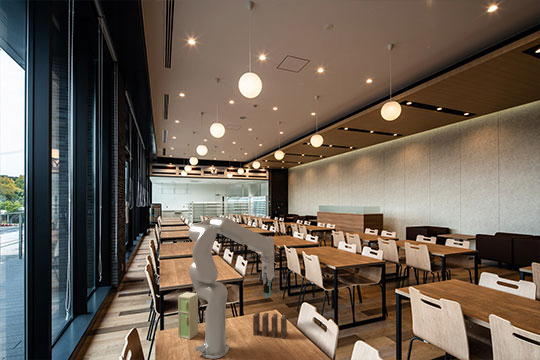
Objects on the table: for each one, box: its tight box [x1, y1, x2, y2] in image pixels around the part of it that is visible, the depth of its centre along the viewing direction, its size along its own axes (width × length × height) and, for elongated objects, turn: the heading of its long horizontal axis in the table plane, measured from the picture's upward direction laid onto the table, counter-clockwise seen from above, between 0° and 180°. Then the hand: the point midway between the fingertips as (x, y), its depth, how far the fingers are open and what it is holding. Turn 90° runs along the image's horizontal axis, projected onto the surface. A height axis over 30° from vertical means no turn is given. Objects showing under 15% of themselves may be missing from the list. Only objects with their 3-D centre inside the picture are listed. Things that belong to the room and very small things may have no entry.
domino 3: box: [261, 312, 270, 338], centre depth 142 cm, size 2×5×10 cm, turn 165°
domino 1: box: [252, 311, 261, 337], centre depth 143 cm, size 2×5×10 cm, turn 165°
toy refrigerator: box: [177, 291, 199, 340], centre depth 142 cm, size 8×7×21 cm
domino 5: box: [280, 314, 288, 340], centre depth 139 cm, size 2×5×10 cm, turn 165°
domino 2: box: [264, 279, 272, 299], centre depth 153 cm, size 2×5×10 cm, turn 164°
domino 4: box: [270, 313, 279, 339], centre depth 140 cm, size 2×5×10 cm, turn 165°
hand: (267, 290), depth 153 cm, fingers closed on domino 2, 4 cm apart
